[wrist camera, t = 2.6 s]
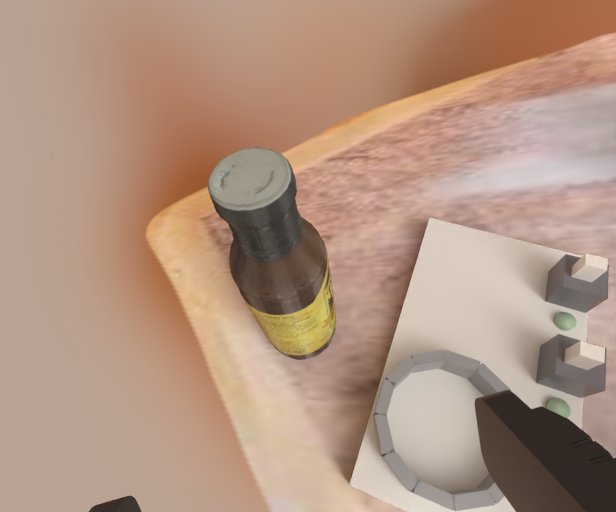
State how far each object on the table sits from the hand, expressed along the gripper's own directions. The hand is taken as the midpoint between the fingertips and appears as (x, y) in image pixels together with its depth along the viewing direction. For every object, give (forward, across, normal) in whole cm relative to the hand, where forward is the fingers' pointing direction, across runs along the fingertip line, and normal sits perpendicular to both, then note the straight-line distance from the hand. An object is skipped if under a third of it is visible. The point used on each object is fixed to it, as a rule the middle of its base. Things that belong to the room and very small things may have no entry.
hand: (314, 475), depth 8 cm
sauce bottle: (+24, 0, +8) cm, 26 cm away
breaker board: (+19, -13, +12) cm, 27 cm away
